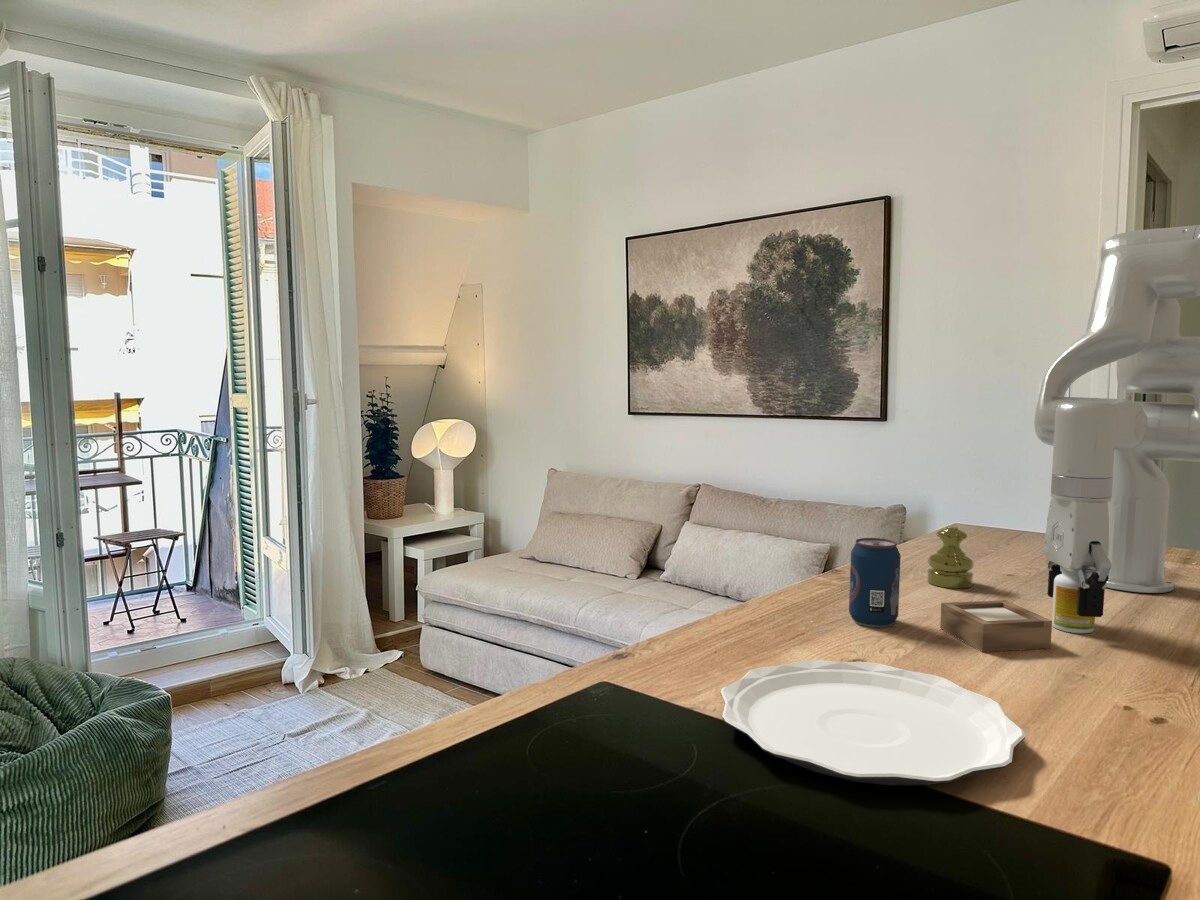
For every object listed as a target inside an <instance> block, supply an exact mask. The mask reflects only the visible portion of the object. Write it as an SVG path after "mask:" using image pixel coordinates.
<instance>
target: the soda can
mask: <svg viewBox="0 0 1200 900" xmlns="http://www.w3.org/2000/svg"><path fill="white" fill-rule="evenodd" d="M901 558H902V557H901V553H900V551H899V549H898V545H897V542H896V541H894V540H890V539H886V538H880V537H877V538H876V537H863V538H861V537H860V538H858V539H857V538H856V539H855V544H854V546H853V547H852V549H851V551H850V566H849V567H850V571H849V572H850V574H849V597H848V599H849V601H848V613H849V615H850V617H851V618H852V620H853V622H854V623H856V624H858V625H860V626H863V625H864V627H868V626H871V627H870V628H888V626H889V627H891V626H893V625H894V623H895V622H896V620H897V619H898V618H899V610H900V609H899V606H900V605H899V604H900V581H901V579H900V578H901ZM892 624H893V625H892Z"/></svg>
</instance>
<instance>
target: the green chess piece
mask: <svg viewBox="0 0 1200 900" xmlns="http://www.w3.org/2000/svg"><path fill="white" fill-rule="evenodd" d="M936 536H937V537H938V538H939V539H940V540H941V541H942V546H941V547H940V548H939V549H937V550H936V552H934V553H932V554H930V555H929V556H928V557H927V563H928V565H929V568H927V578H926V579H927V580H926V581H927V582H928V583H929V584H931V585H933V586H935V587H939V588H944V589H945V588H947V589H954V588H957V590H958V589H959V588H961V589H967V588H970V587H972V586H973V582H974V573H973V572H972V571H971V570H972V569H973V568H974V565H975V562H974V561H975V560H974V559H973V558H972V557H970V556H969V555H968V554H967V553H966V552H965V551H964V550H963V549H962V547H961V546H960V545H961V543H962V542H963V541H964V540H965V539H967V538H968V536H969V535H968V533H967V532H965V531H964V530H962V529H959V527H957V526H955V525H954V526H953V525H952V526H951V525H950V526H946V528H942V529H940V530H937V531H936ZM966 554H967V555H966Z"/></svg>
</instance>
